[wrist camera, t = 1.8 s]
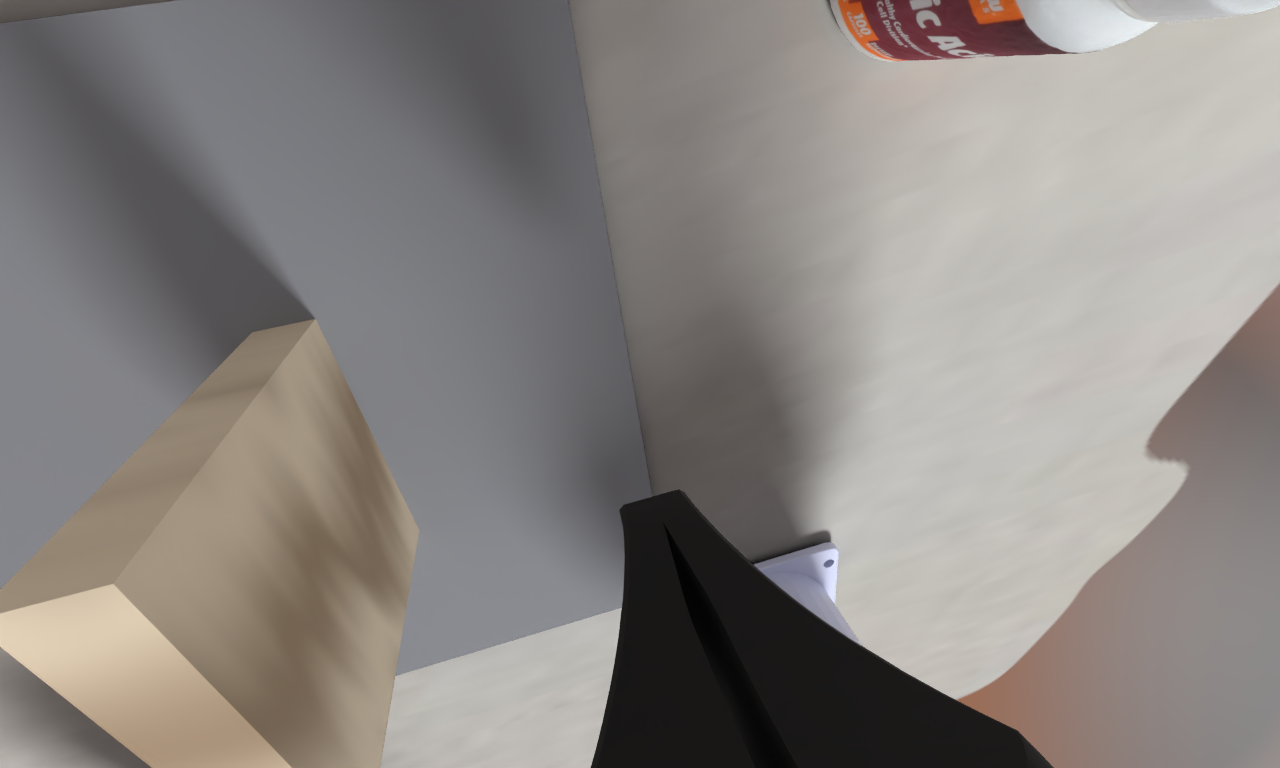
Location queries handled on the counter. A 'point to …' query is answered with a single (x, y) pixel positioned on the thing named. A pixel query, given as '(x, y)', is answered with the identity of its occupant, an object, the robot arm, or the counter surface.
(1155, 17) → the pill bottle
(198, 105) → the mat
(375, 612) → the tile
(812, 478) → the counter surface
